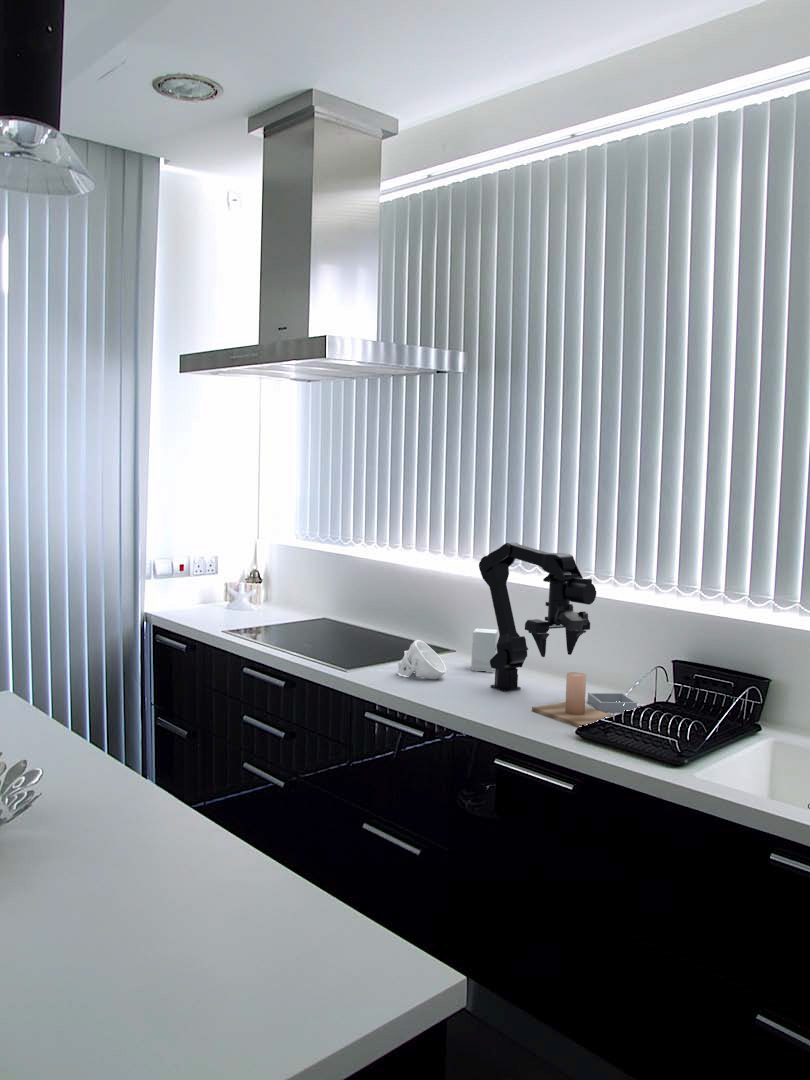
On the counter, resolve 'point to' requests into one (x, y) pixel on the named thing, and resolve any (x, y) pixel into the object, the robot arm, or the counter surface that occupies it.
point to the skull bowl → (421, 662)
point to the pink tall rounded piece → (575, 693)
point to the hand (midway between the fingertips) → (556, 655)
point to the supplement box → (483, 649)
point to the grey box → (611, 702)
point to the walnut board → (559, 714)
